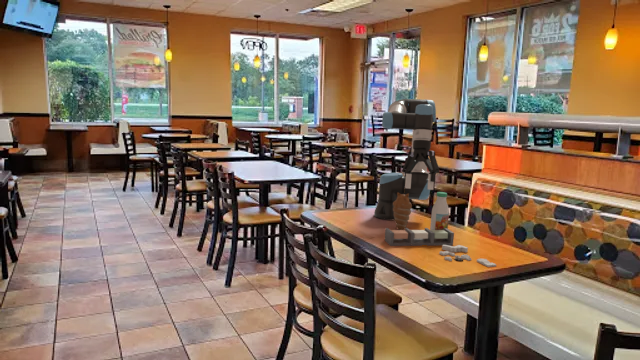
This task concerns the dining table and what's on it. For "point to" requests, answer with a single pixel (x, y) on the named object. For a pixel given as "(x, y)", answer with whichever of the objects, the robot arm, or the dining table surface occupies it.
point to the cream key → (420, 234)
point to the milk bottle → (440, 213)
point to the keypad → (418, 242)
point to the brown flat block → (400, 234)
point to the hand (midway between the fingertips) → (418, 189)
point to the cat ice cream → (402, 210)
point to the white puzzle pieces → (459, 249)
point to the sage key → (440, 234)
